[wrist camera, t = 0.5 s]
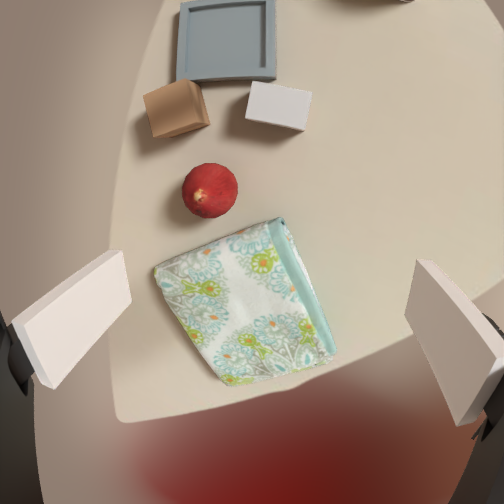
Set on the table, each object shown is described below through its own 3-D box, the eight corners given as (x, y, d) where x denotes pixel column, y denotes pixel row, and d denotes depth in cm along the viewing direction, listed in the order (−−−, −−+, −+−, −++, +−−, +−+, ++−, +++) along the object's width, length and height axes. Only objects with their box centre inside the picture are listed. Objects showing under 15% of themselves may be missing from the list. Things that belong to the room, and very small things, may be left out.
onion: (232, 217, 35) (214, 238, 27) (188, 198, 35) (161, 214, 27) (250, 172, 33) (237, 181, 25) (204, 153, 32) (179, 157, 25)
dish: (185, 8, 26) (180, 3, 24) (275, 0, 24) (274, -6, 23) (181, 84, 30) (175, 81, 28) (276, 79, 28) (275, 76, 27)
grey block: (257, 87, 29) (252, 80, 25) (310, 98, 29) (312, 92, 25) (250, 120, 31) (244, 117, 27) (303, 131, 30) (304, 129, 27)
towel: (228, 373, 45) (221, 396, 40) (159, 261, 39) (142, 277, 34) (338, 344, 40) (342, 367, 35) (283, 208, 34) (282, 219, 29)
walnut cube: (162, 100, 31) (142, 95, 26) (200, 86, 30) (185, 78, 25) (171, 137, 32) (153, 137, 28) (210, 124, 31) (196, 122, 27)
